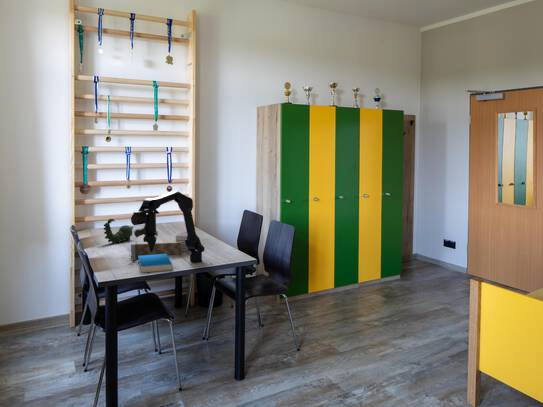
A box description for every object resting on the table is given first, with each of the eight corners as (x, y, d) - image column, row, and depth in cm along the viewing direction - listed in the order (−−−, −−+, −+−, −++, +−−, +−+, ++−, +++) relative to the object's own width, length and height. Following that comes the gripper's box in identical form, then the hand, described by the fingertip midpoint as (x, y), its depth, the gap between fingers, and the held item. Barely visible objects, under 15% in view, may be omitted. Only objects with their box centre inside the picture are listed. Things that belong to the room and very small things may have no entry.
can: (196, 250, 301) (196, 232, 299) (186, 254, 291) (186, 235, 289) (182, 248, 306) (182, 231, 304) (171, 252, 295) (171, 234, 294)
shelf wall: (181, 254, 289) (180, 241, 288) (181, 255, 287) (180, 242, 286) (131, 256, 284) (131, 243, 283) (131, 257, 282) (131, 244, 281)
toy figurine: (112, 247, 316) (139, 238, 337) (109, 221, 312) (136, 213, 333) (102, 246, 321) (130, 237, 342) (99, 220, 317) (127, 212, 338)
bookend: (137, 257, 282) (136, 241, 281) (135, 261, 272) (135, 244, 271) (133, 257, 282) (133, 241, 281) (132, 261, 272) (131, 244, 271)
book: (141, 266, 248) (137, 255, 271) (141, 273, 248) (137, 262, 272) (173, 263, 254) (167, 252, 277) (173, 270, 254) (167, 259, 277)
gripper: (136, 220, 249) (137, 248, 251) (132, 226, 231) (133, 256, 233) (157, 219, 251) (158, 247, 253) (155, 225, 233) (156, 255, 235)
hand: (151, 251), depth 244 cm, fingers closed
